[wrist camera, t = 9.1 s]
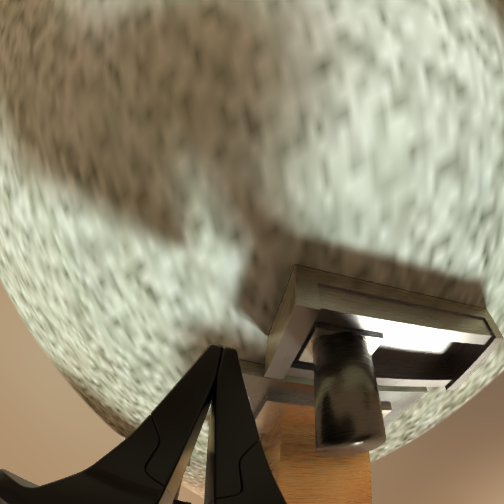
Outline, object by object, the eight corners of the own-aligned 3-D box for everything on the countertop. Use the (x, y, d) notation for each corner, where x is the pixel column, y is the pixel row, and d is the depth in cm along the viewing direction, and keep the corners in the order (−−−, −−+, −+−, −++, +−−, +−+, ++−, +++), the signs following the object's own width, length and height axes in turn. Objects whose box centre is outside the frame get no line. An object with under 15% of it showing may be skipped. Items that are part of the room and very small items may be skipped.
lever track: (444, 360, 13) (455, 389, 11) (267, 337, 13) (263, 376, 11) (486, 308, 11) (503, 338, 9) (295, 264, 10) (296, 304, 9)
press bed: (348, 444, 20) (350, 474, 17) (215, 429, 20) (208, 463, 17) (424, 381, 14) (435, 423, 11) (238, 359, 14) (228, 413, 11)
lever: (356, 352, 11) (370, 456, 7) (297, 343, 11) (295, 455, 7) (379, 318, 10) (407, 431, 6) (315, 306, 10) (323, 433, 6)
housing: (365, 419, 14) (372, 509, 9) (329, 446, 17) (329, 518, 12) (282, 413, 14) (274, 515, 9) (260, 441, 17) (251, 518, 12)
